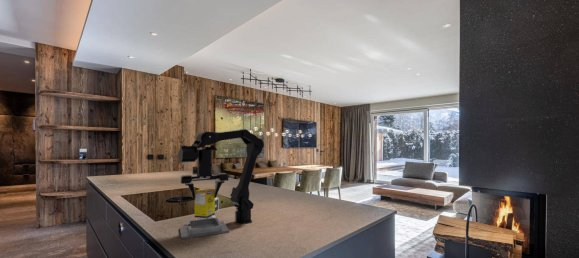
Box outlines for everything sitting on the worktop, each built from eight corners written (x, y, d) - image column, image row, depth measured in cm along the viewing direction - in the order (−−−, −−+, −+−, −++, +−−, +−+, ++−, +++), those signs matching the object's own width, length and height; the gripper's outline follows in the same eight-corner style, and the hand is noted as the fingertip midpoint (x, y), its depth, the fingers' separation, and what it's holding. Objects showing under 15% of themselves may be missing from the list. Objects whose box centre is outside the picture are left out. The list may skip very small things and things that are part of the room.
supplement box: (215, 214, 111) (215, 188, 112) (206, 218, 106) (206, 191, 106) (203, 213, 113) (203, 188, 114) (194, 217, 108) (194, 190, 108)
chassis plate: (222, 222, 119) (222, 216, 119) (229, 232, 106) (229, 225, 106) (179, 228, 112) (180, 221, 112) (181, 239, 99) (181, 231, 99)
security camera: (212, 222, 120) (212, 200, 121) (198, 221, 122) (198, 199, 122) (218, 218, 127) (219, 197, 127) (205, 217, 128) (205, 196, 129)
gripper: (223, 159, 122) (223, 193, 121) (180, 161, 114) (179, 197, 113) (228, 160, 112) (228, 198, 111) (181, 162, 104) (181, 202, 103)
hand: (204, 198), depth 110 cm, fingers closed on supplement box, 8 cm apart
